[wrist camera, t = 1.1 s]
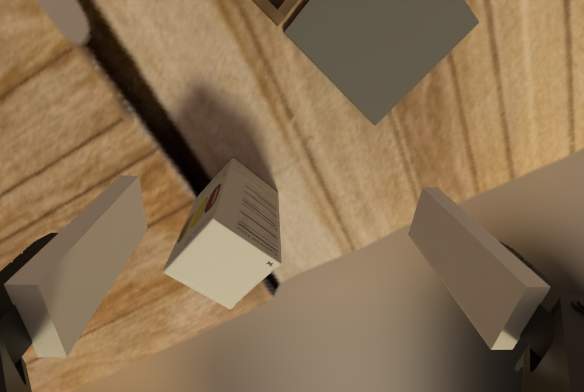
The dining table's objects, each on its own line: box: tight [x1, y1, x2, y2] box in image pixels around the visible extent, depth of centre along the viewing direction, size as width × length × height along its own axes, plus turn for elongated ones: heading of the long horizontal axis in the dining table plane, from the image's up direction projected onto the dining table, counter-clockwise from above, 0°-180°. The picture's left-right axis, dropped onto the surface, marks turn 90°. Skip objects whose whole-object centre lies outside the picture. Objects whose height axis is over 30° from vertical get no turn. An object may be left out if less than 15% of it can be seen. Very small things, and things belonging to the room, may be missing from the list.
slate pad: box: [284, 0, 479, 125], centre depth 37 cm, size 17×17×1 cm
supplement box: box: [163, 158, 281, 309], centre depth 40 cm, size 10×9×17 cm
